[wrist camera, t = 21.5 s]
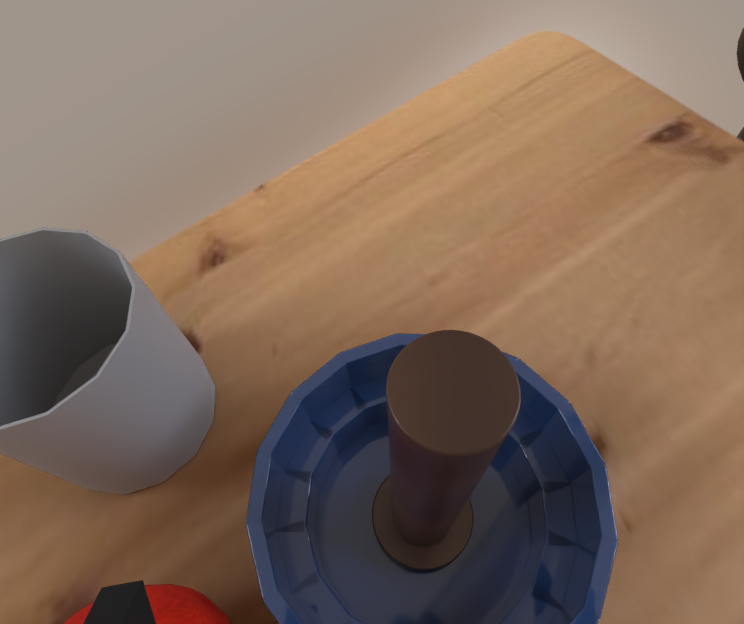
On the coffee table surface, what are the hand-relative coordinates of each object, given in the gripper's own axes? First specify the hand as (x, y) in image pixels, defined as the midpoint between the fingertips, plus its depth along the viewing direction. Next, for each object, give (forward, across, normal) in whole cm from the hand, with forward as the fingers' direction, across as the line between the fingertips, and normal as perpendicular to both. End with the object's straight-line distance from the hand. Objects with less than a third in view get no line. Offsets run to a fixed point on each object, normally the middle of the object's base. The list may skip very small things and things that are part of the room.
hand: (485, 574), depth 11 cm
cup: (+18, -14, -3) cm, 23 cm away
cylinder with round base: (+12, 0, -8) cm, 14 cm away
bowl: (+12, 0, -8) cm, 15 cm away
